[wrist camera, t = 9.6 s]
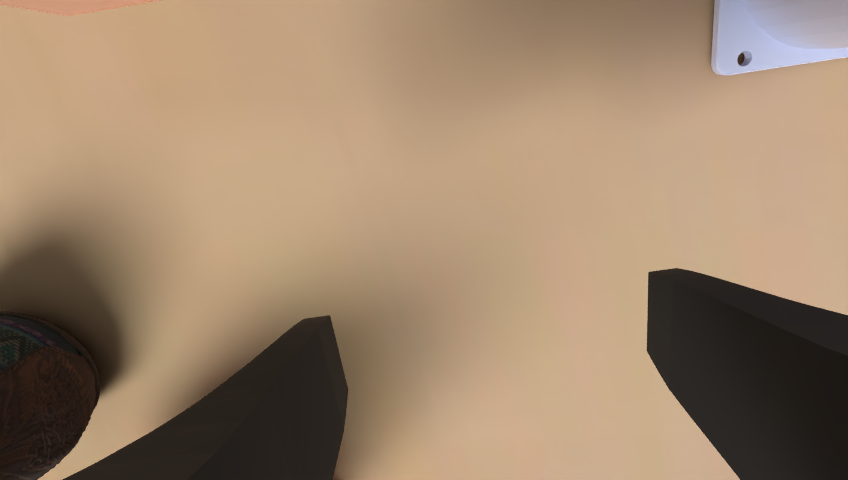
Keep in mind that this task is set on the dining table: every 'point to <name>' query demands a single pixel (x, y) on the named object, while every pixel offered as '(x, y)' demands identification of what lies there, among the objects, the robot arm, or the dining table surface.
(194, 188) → the dining table surface
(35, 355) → the mate gourd
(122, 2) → the terracotta brick
